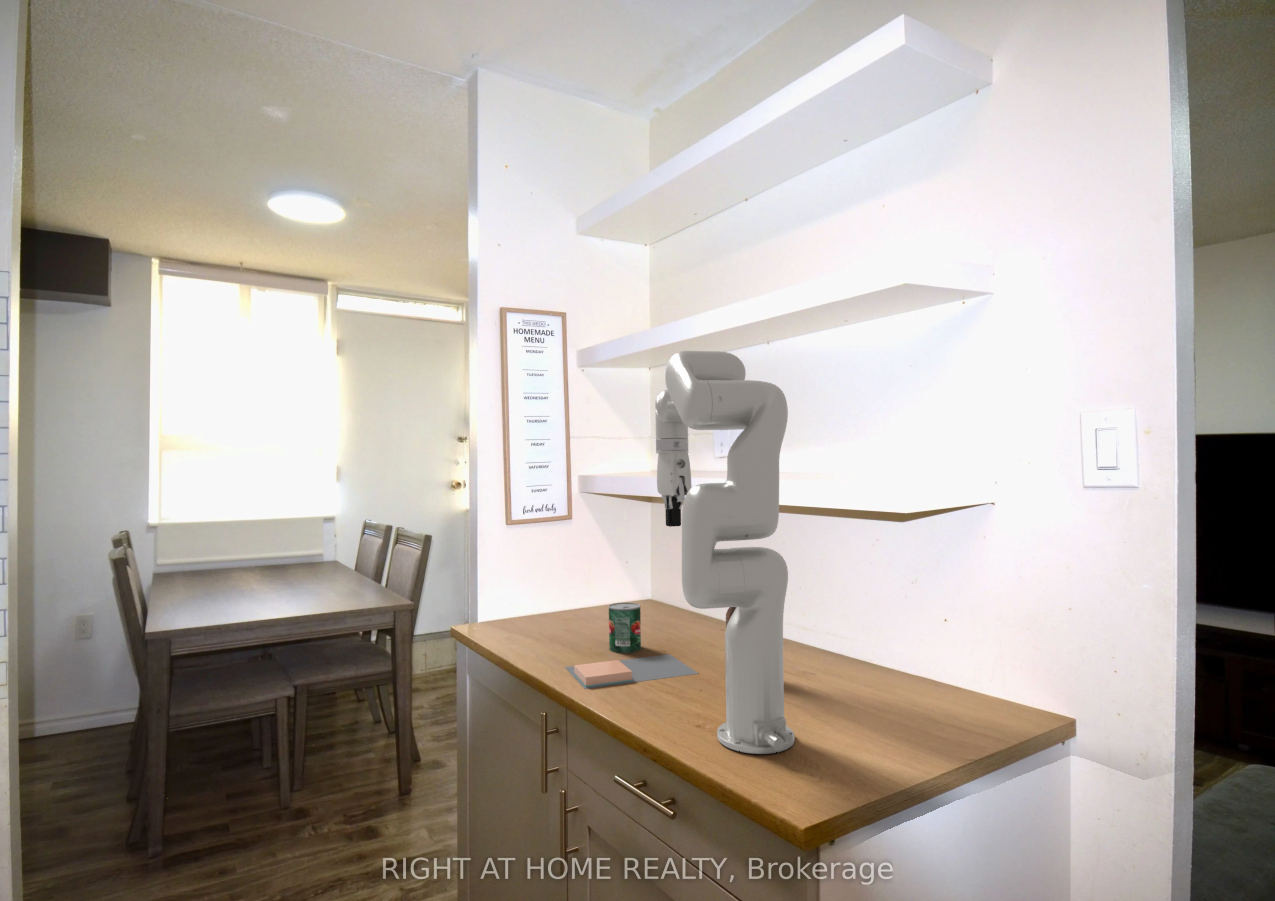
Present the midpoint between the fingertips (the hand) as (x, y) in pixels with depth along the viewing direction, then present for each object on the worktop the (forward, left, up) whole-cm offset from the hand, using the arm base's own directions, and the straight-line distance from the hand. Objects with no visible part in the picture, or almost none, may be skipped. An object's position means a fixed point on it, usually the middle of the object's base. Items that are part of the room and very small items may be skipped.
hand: (673, 525), depth 159 cm
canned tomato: (+13, +8, -31) cm, 35 cm away
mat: (-4, +13, -31) cm, 34 cm away
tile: (-2, +20, -30) cm, 36 cm away
